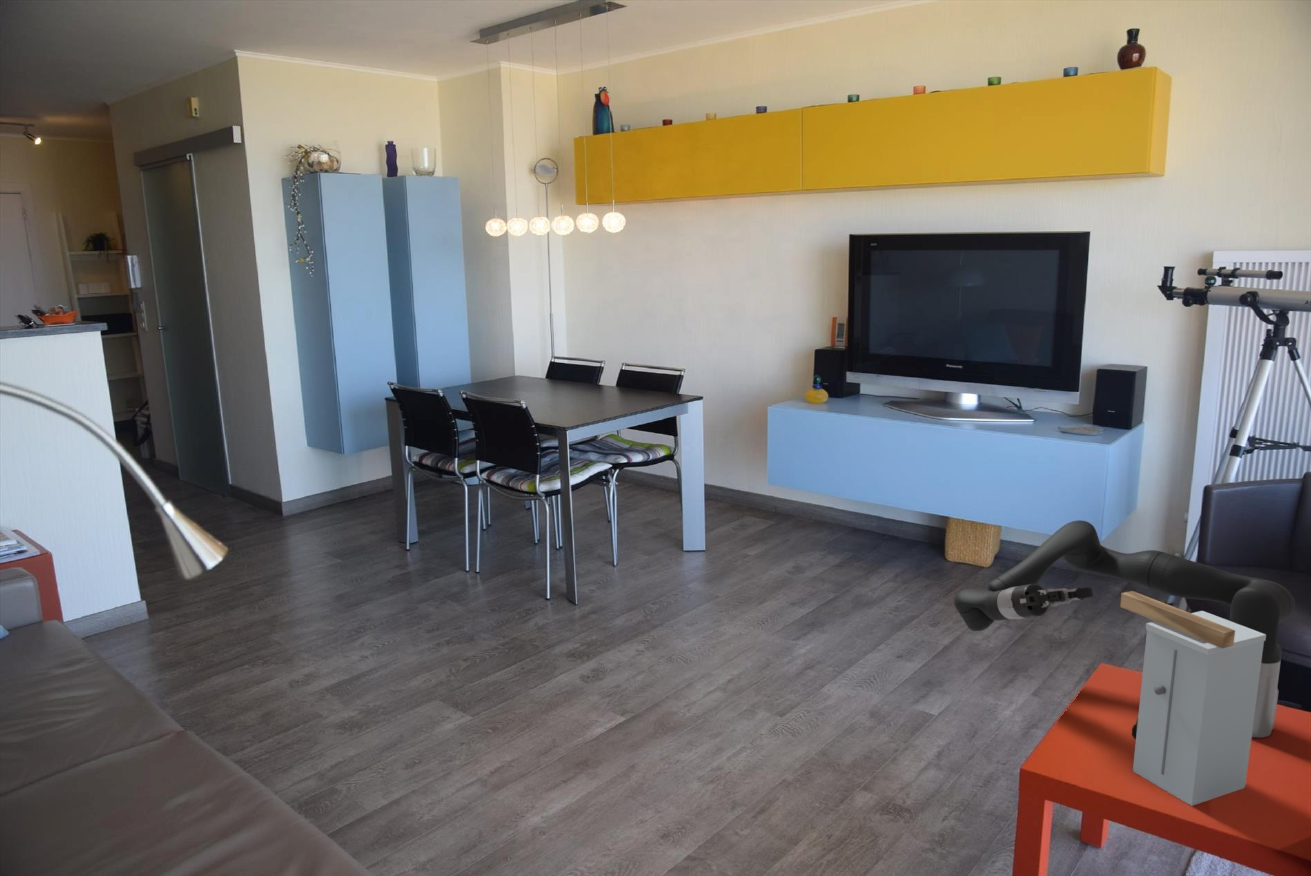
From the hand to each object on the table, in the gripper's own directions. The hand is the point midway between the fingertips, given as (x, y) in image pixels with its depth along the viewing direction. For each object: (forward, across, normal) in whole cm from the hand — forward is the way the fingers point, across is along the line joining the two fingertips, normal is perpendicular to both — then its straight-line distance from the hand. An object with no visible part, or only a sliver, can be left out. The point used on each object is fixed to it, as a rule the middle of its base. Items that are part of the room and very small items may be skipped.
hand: (1077, 593), depth 200 cm
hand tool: (-5, -16, -30) cm, 34 cm away
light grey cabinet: (+12, -4, -39) cm, 41 cm away
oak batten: (+23, +2, -9) cm, 25 cm away
